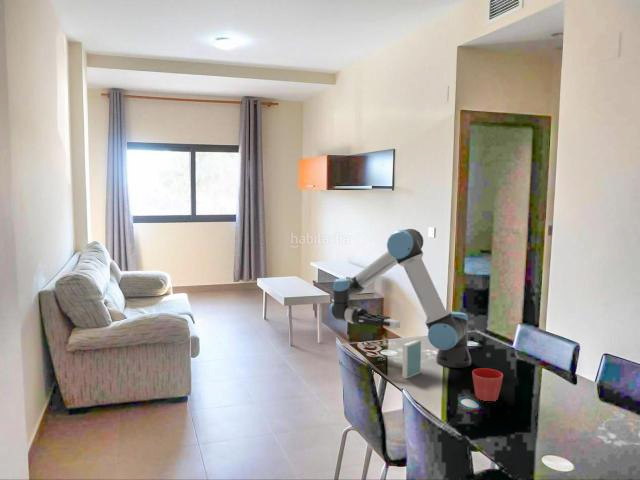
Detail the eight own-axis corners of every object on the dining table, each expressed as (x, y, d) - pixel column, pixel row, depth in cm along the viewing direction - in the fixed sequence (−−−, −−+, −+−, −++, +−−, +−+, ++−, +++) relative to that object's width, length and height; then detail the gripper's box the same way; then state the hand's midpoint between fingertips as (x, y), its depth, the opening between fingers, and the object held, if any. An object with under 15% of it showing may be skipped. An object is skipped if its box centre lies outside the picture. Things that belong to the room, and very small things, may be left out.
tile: (416, 371, 218) (417, 339, 216) (421, 372, 216) (421, 340, 215) (402, 377, 211) (402, 344, 209) (406, 378, 209) (407, 345, 208)
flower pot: (504, 405, 183) (505, 378, 182) (472, 402, 185) (473, 376, 184) (500, 393, 193) (500, 369, 192) (470, 391, 195) (470, 367, 194)
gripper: (366, 320, 239) (407, 330, 222) (345, 326, 229) (387, 336, 212) (367, 305, 238) (408, 313, 222) (346, 310, 229) (387, 319, 212)
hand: (397, 324), depth 217 cm, fingers closed
